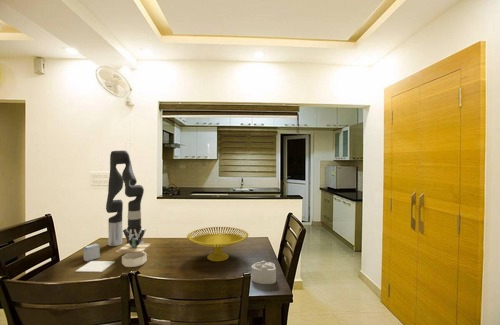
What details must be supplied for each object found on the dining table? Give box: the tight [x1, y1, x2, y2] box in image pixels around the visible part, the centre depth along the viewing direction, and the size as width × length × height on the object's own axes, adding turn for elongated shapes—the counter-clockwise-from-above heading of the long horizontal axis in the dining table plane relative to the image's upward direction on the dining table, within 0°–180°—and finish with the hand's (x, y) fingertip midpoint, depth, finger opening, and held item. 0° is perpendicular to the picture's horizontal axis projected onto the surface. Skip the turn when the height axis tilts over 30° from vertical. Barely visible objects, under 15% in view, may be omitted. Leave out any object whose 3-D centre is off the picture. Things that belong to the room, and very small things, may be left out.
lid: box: [115, 238, 152, 254], centre depth 160 cm, size 15×15×6 cm
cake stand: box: [186, 226, 249, 262], centre depth 171 cm, size 40×40×15 cm
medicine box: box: [83, 243, 101, 263], centre depth 166 cm, size 8×4×9 cm, turn 149°
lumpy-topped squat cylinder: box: [250, 260, 277, 285], centre depth 141 cm, size 10×13×9 cm
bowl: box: [121, 250, 148, 268], centre depth 160 cm, size 13×13×5 cm
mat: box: [75, 260, 116, 273], centre depth 154 cm, size 14×15×1 cm
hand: (134, 245), depth 160 cm, fingers closed on lid, 3 cm apart
